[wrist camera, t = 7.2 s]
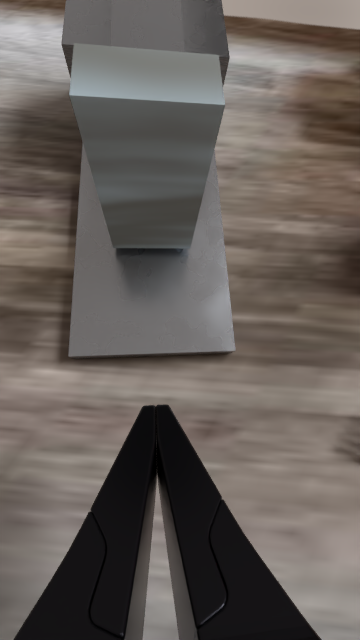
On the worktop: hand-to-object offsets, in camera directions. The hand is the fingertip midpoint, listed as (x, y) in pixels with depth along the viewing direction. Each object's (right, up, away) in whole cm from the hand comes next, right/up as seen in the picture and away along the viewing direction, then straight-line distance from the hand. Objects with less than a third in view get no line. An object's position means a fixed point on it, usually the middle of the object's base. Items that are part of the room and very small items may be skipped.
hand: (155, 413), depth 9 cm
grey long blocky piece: (-1, +12, +11) cm, 17 cm away
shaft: (-1, +15, +11) cm, 19 cm away
